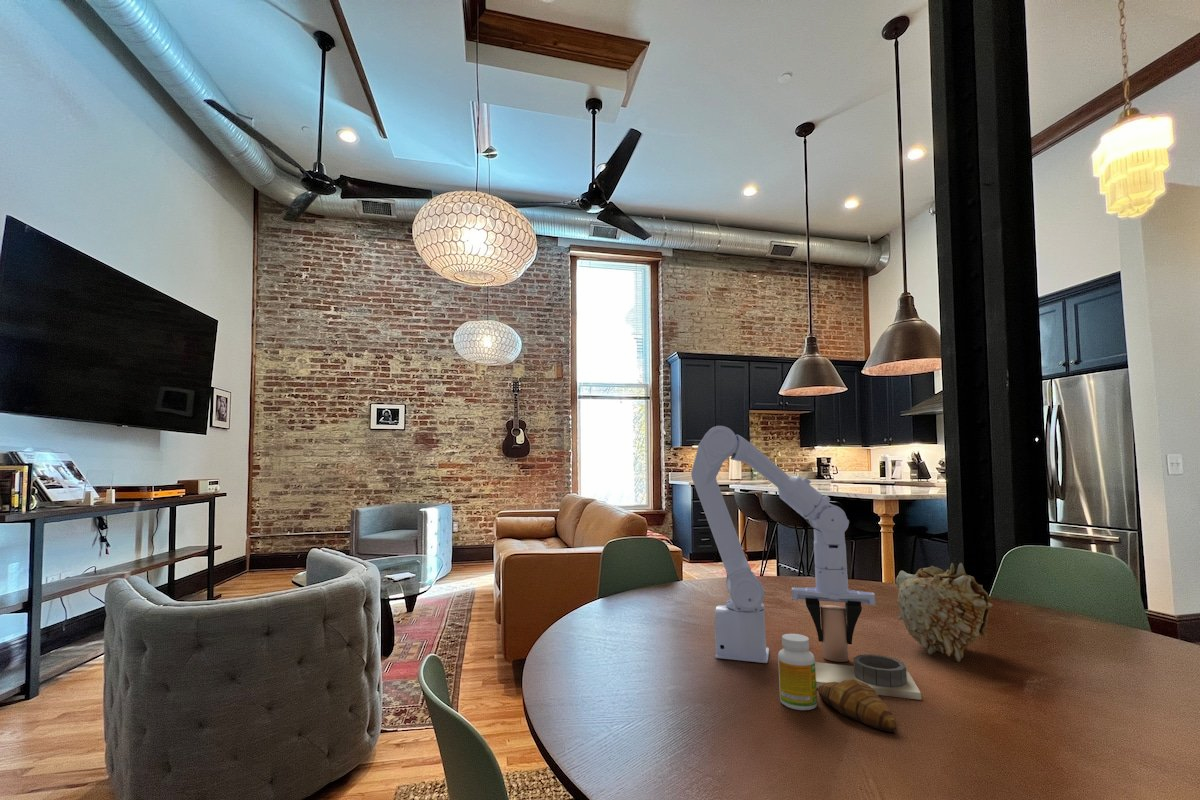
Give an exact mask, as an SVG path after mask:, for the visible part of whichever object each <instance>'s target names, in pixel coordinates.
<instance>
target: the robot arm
mask: <svg viewBox="0 0 1200 800" xmlns="http://www.w3.org/2000/svg"><path fill="white" fill-rule="evenodd" d="M730 456H731V457H730ZM729 457H730V460H732V461H737V462H742V463H745V464H747V465H748V466H749V467H750V468H752V469H753V470H754V471H756V472H757V473H758V474H760V475H761V476H762V477H764V478H765V479H766V480H767V481H768V482H770V483H771V484H772V485H773V486H775V487H776V488H777V489H778V497H779V499H780V500H782V501H783V502H784V503H785V504H787V505H788V506H789V507H790V508H792V509H793V510H794V511H795V512H796V513H797V514H799V515H800V516H801V517H802V518H803V519H804V520H808V523H809V524H810V526H811V527H812V528H813V555H814V556H813V558H814V577H815V578H814V579H815V587H791V599H792V600H793V601H798V600H802V601H803V600H804V602H805V606H806V608H807V609H808V612H809V614H810V616H811V619H812V621H813V623H814V626H815V629H816V632H817V633H816V634H817V640H818V642H821V643H822V642H823V637H822V626H821V605H820V604H821V603H820V601H821V602H830V603H831V602H832V603H833V602H835V603H844V606H845V607H844V608H845V609H846V625H847V643H848V645H853V637H854V636H853V635H854V632H855V628H856V624H857V621H858V620H859V617H860V615H861V612H862V611H863V606H862V604H863V605H864V604H865V605H870V606H876V593H874V592H873V591H872V592H870V591H861V590H853V589H849V580H848V563H847V545H846V537H845V536H846V535H845V532H846V531H847V530H848V528H849V524H850V520H849V519H848V517H847V515H846V512H845V511H844V510H843V509H842V508H841V507H840V506H838V505H835V504H832V503H830V500H831V497H829V496H828V495H823V494H822V493H821V492H820V491H818V490H817V489H816V488H814V487H813V486H812V485H811V480H810V479H808V478H807V477H803V478H802V476H800V475H791V476H790V475H788V474H787V473H786V472H785V471H784V470H782V468H780V467H779V466H778V465H777V464H776V463H774V462H773V461H772V460H771V459H770V458H769V457H768V456H767V455H765V454H764V453H763V452H762V451H761V450H759V449H758V447H757V446H755V445H754V444H753V443H751V442H750V441H749V440H747V439H746V438H744V437H743V436H741V435H739V434H735V432H734V431H733V430H732V429H731V428H729V427H727V426H725V425H716V426H713V427H711V428H710V429H708V431H707V432H706V433H705V434H704V435H703V437H702V438H701V441H700V442H699V443H698V445H697V449H696V453H695V457H694V460H693V465H692V469H691V473H690V474H691V475H690V476H691V480H692V482H693V485H694V487H695V490H696V493H697V497H698V498H699V501H700V503H701V507H702V509H703V511H704V515H705V517H706V520H707V523H708V526H709V529H710V532H711V533H712V537H713V539H714V542H715V545H716V547H717V551H718V553H719V556H720V558H721V562H722V564H723V567H724V569H725V572H726V579H725V580H726V581H725V584H726V589H727V591H728V593H729V597H728V599H727V601H726V602H725V604H724V605H722V604H720V605H716V607H715V611H714V643H715V654H714V655H715V658H716V659H724V660H730V661H731V660H733V661H742V662H752V663H753V662H754V663H763V664H767V663H769V656H770V648H769V647H768V646H767V640H766V639H767V637H766V636H767V635H766V615H765V613H766V612H765V604H764V603H763V602H764V599H765V588H764V586H763V584H762V583H761V581H760V580H759V579H758V578H757V576H756V574H755V573H754V572H753V571H752V569H751V566H750V564H749V562H748V560H747V557H746V555H745V552H744V549H743V547H742V546H743V545H742V544H741V541H740V538H739V536H738V534H737V531H736V529H735V526H734V523H733V520H732V517H731V515H730V512H729V509H728V506H727V505H726V501H725V499H724V496H723V494H722V491H721V488H720V485H719V483H718V480H717V476H718V474H719V472H720V470H721V468H722V466H723V464H724V463H725V462H726V460H728V459H729Z"/></svg>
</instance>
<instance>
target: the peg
mask: <svg viewBox="0 0 1200 800" xmlns="http://www.w3.org/2000/svg"><path fill="white" fill-rule="evenodd" d="M820 617H821V630H822V637H823V642H821V644H822V658H823V659H825V660H827V661H830V662H834V663H835V662H837V663H844V662H848V661H849V646H848V645H849V644H848V643H847V621H846V608H845V607H843V606H839V605H834V604H833V605H832V604H831V605H830V604H826V605H820Z"/></svg>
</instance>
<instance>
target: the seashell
mask: <svg viewBox="0 0 1200 800" xmlns="http://www.w3.org/2000/svg"><path fill="white" fill-rule="evenodd" d="M895 584H896V587H897V589H898V593H897V600H896V603H897V604H898V607H899V611H900V613H899V615H898V617H897V620H899V621H900V620H902V621H903V624H904V626H905V627H906V630H907V631H908V634H909V635H910V636H911V637H912V638H913V639H914V640H915V641H916V642H917V643H918V644H919V645H921V646H922V647H924V648H925V649H926V650H927V653H928V655H932V654H934V653H935V652H941V654H944V653H945V654H946V655H947V656H948V657H951V655H952V654H953V657H954V658H955V661H956V662H958V663H960V662H961V660H962V659H963V658H964V650H965V648H967V647H968V646H970V645H971V644H972V643H974V642H976V640H977V639H978V637H979V636H981V637H984V638H988V635H987V633H986V629H987V628H988V620H989V615H990V609H991V608H992V607H993V606H994V604H993V603H992V597H991V596H989V594H988V592H987V591H986V590H985V589H984V588H983V584H979V583H978V582H977V581H976V579H975V577H974V576H971V575H969V574H967V573H966V570H965V568H964V565H963V563H962V562H959V564H958V566H957V569H956V570H955V565H954V563H953V562H951V564H950V567H949V568H947V570H946V571H945V570H943V569H941V568H939V567H937V566H934V565H930V566H929V567H921V568H919V569H917V571H916V573H915V574H911V573H907V572H906V571H904V570H900V571H899V572H898V575H897V576H896V578H895Z"/></svg>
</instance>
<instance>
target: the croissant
mask: <svg viewBox="0 0 1200 800" xmlns="http://www.w3.org/2000/svg"><path fill="white" fill-rule="evenodd" d="M817 693H818V695H819V697H820V699H822V701H823V702H824V703H826V704H827V705H828V706H830V707H832V708H833V709H835V710H836V711H837V712H838V713H840V714H841V715H843V716H845V717H847V718H850V719H852V720H856V721H858V722H860V723H862V724H864V725H866V726H869V727H871V728H873V729H876V730H880V731H885V732H890V733H893V732H895V731H896V730H897V727H898V724H897V721H896V718H895V716H894V715H893V713H892V711H891V709H890V708H889V707H888V706H887V705H886V704H885V702H884V701H883V700H882V699H881V698H880V697H879V695H877V693H876V691H875V690H874V689H873V688H871V687H870V686H869V685H867V684H865V683H862V682H860V681H857V680H854V679H852V680H844V681H842V682H827V683H825V684H822V685H820V686H819V688H817Z"/></svg>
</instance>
